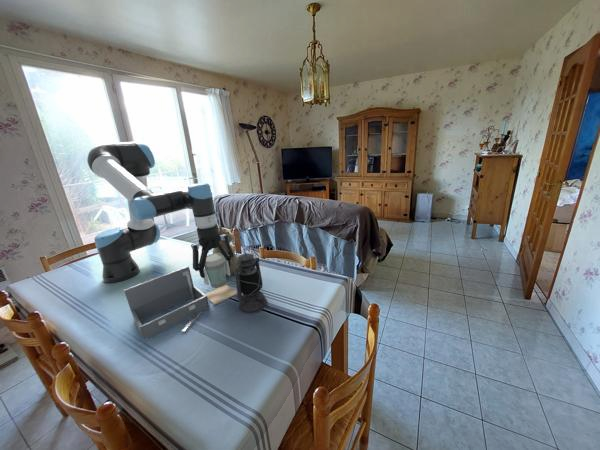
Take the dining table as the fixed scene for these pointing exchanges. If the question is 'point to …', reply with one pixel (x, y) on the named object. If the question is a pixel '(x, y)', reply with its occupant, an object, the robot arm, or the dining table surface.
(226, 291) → the cork pad
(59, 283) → the dining table surface
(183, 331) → the bar
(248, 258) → the lantern
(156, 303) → the case
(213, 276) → the coffee cup
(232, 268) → the bear
